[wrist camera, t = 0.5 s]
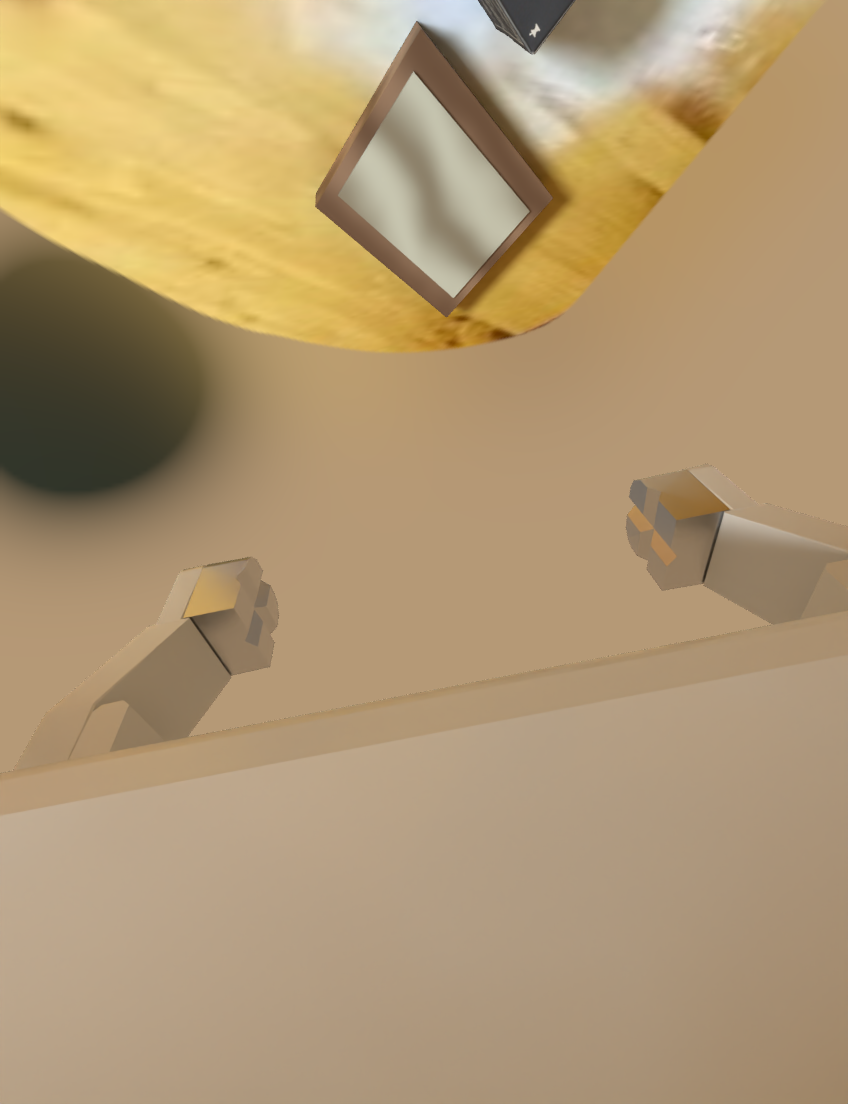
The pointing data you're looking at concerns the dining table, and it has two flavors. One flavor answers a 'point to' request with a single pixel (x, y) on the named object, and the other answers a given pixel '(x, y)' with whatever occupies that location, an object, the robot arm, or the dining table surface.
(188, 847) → the robot arm
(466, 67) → the dining table surface
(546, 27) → the small box
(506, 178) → the walnut picture frame
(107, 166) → the dining table surface
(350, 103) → the dining table surface
